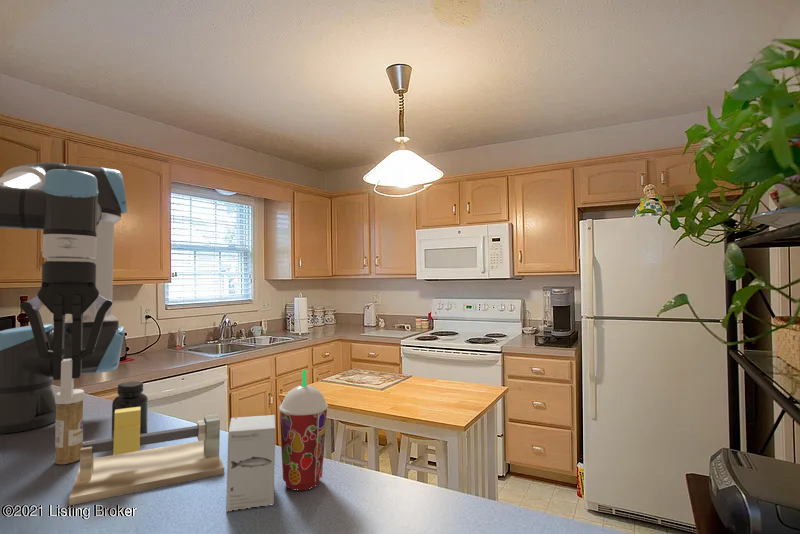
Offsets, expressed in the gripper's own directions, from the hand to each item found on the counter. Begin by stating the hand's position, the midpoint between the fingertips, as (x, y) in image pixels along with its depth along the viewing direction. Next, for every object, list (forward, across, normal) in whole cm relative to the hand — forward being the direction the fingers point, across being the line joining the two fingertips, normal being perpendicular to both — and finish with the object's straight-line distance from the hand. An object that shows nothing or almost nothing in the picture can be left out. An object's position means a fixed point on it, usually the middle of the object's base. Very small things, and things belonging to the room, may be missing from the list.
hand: (66, 397), depth 77 cm
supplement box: (+16, +27, -19) cm, 37 cm away
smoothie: (+16, +36, -18) cm, 43 cm away
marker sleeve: (+10, +9, 0) cm, 14 cm away
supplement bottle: (+15, +9, +21) cm, 27 cm away
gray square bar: (+10, +13, 0) cm, 16 cm away
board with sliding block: (+15, +13, 0) cm, 20 cm away
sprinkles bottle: (+15, -1, +13) cm, 20 cm away
